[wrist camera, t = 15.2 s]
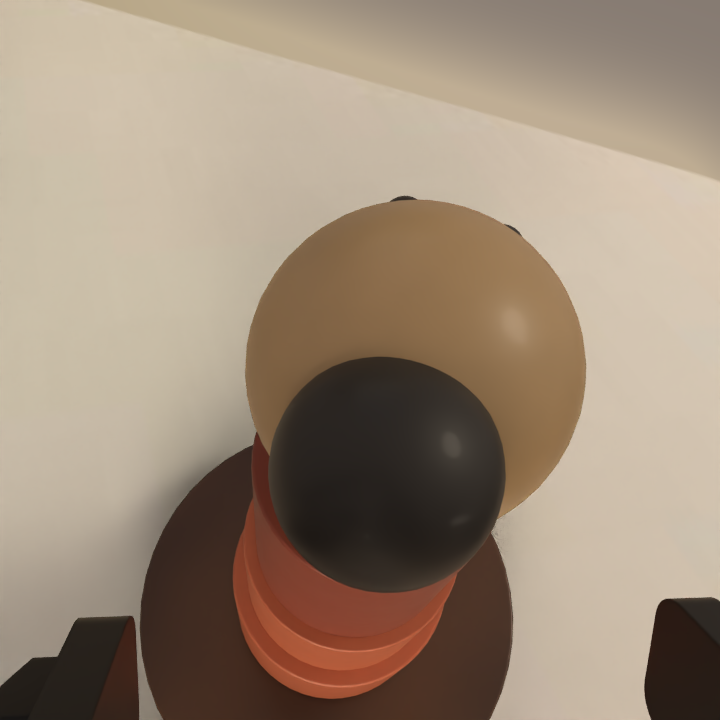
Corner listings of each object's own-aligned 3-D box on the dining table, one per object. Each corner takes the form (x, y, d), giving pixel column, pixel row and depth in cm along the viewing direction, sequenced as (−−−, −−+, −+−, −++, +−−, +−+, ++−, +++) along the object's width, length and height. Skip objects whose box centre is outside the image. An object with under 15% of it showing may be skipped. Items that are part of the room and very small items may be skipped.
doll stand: (77, 725, 21) (60, 721, 19) (242, 407, 27) (241, 383, 25) (444, 884, 20) (460, 895, 18) (527, 515, 26) (545, 497, 24)
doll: (397, 738, 19) (719, 661, 5) (203, 673, 20) (38, 441, 6) (442, 534, 23) (714, 162, 9) (276, 481, 23) (283, 40, 9)
